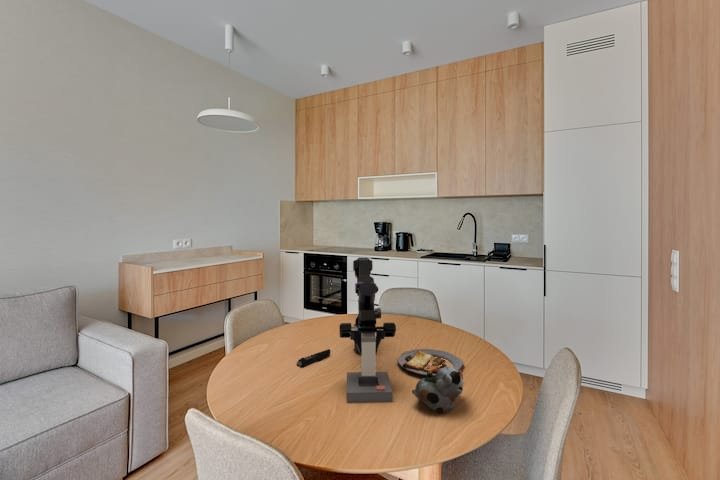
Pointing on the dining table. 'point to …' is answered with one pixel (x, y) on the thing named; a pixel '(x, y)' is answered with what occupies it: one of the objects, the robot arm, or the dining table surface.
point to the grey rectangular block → (368, 354)
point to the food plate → (427, 361)
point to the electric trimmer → (313, 358)
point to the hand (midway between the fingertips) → (368, 354)
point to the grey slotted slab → (368, 387)
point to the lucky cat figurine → (440, 389)
